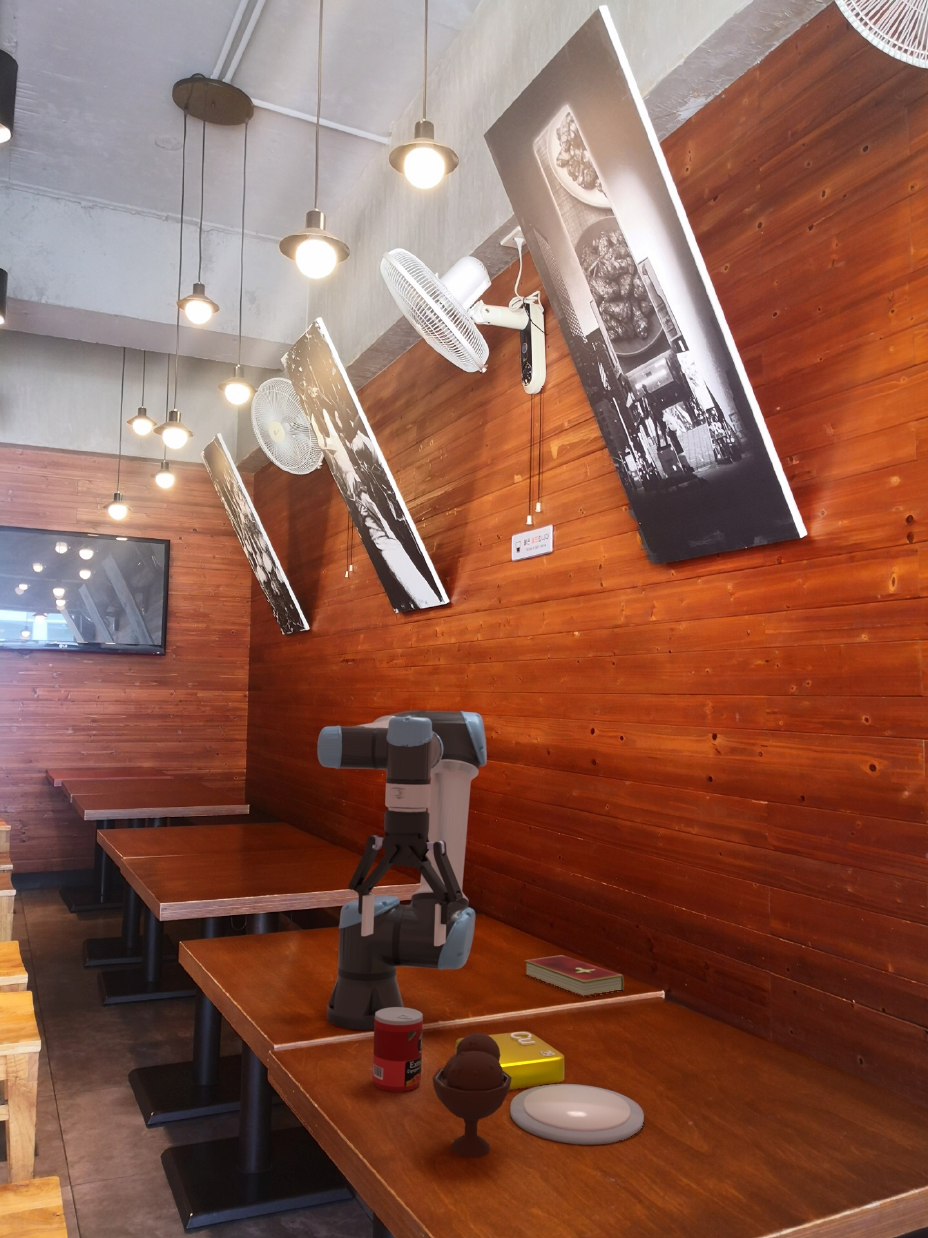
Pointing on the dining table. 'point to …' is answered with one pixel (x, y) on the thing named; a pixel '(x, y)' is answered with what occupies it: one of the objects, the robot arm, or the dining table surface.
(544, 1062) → the element tile
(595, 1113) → the dish
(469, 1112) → the ice cream bowl
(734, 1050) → the dining table surface
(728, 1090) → the dining table surface
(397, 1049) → the canned food
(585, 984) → the hardcover book
